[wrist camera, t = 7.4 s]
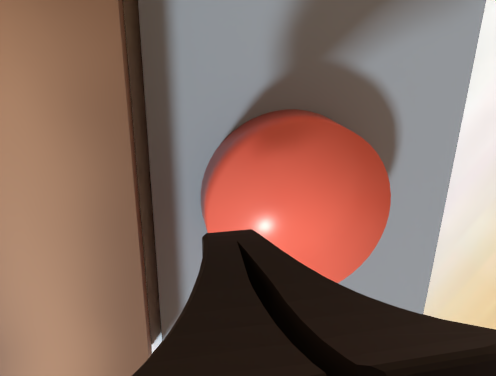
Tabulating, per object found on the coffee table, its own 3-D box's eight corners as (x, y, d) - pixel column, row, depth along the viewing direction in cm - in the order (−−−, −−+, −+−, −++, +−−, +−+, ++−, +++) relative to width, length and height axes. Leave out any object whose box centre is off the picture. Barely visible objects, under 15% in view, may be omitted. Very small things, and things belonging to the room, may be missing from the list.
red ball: (195, 270, 19) (201, 301, 17) (206, 103, 16) (215, 116, 14) (348, 266, 20) (370, 293, 18) (379, 114, 18) (409, 127, 16)
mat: (162, 344, 20) (163, 350, 20) (134, -52, 14) (134, -54, 14) (418, 310, 23) (422, 314, 22) (486, -37, 17) (493, -38, 16)
